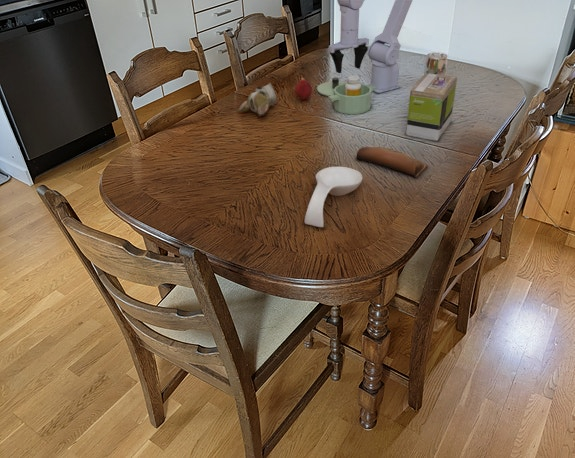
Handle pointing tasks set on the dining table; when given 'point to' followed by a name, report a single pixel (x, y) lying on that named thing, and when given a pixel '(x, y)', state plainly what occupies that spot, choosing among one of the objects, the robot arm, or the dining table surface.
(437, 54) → the beer glass
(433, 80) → the tea box
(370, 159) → the sunglasses case
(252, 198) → the dining table surface
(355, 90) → the supplement bottle
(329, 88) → the lid
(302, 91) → the onion
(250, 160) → the dining table surface
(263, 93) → the ceramic sculpture
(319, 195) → the spoon rest
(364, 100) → the pot
